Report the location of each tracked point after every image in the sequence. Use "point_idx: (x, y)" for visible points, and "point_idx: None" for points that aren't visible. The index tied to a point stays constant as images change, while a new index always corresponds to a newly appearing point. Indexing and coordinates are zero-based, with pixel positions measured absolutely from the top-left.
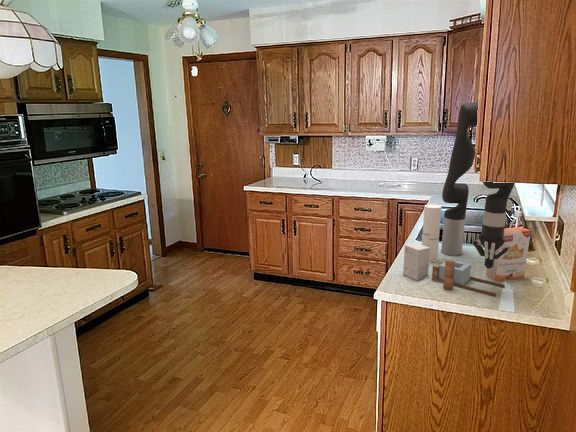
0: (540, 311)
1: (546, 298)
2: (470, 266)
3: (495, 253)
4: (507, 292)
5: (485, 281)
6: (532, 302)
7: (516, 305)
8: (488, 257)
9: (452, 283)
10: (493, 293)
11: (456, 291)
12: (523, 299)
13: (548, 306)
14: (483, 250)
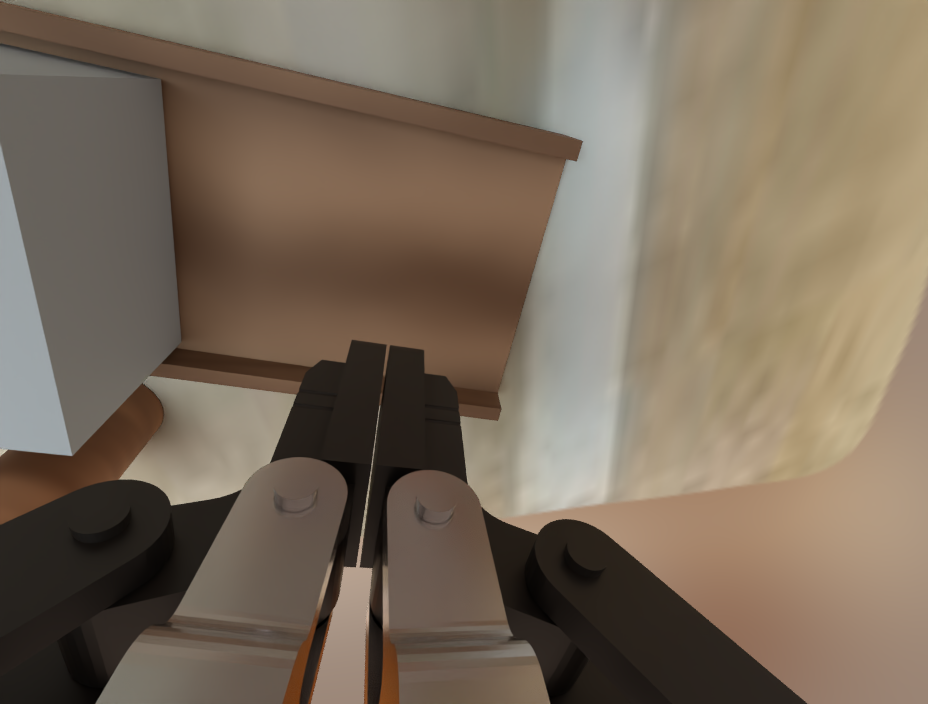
0: (773, 424)
1: (924, 155)
2: (21, 95)
3: (501, 614)
4: (592, 182)
5: (359, 111)
6: (765, 306)
7: (635, 410)
8: (338, 583)
9: (116, 475)
10: (480, 417)
11: (183, 380)
12: (708, 280)
13: (863, 323)
14: (37, 642)
